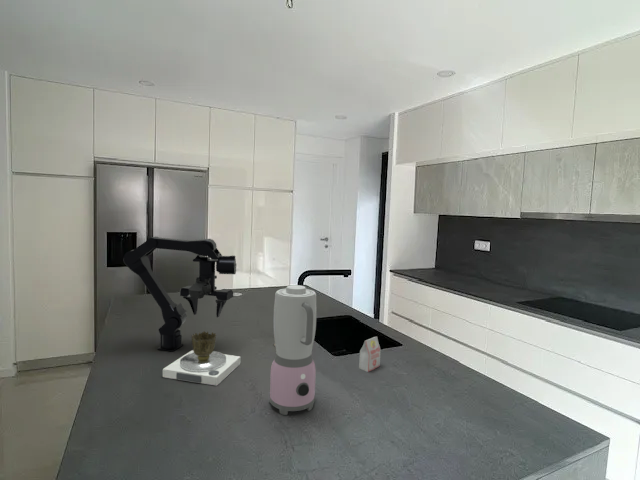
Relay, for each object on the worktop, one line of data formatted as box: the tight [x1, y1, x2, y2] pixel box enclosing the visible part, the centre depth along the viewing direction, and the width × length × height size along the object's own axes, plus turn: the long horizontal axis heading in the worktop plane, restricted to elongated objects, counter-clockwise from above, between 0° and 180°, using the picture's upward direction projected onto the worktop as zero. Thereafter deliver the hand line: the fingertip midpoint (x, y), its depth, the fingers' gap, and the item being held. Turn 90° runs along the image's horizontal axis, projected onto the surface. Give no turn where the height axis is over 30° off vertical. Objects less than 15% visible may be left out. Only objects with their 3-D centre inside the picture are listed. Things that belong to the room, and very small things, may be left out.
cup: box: [191, 330, 217, 361], centre depth 117 cm, size 8×7×8 cm
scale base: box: [162, 349, 242, 386], centre depth 118 cm, size 18×16×3 cm
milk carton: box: [358, 336, 382, 373], centre depth 125 cm, size 4×7×10 cm, turn 136°
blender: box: [269, 284, 318, 416], centre depth 98 cm, size 16×12×32 cm
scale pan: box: [180, 350, 226, 372], centre depth 118 cm, size 14×14×1 cm
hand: (206, 315), depth 136 cm, fingers open, 9 cm apart
